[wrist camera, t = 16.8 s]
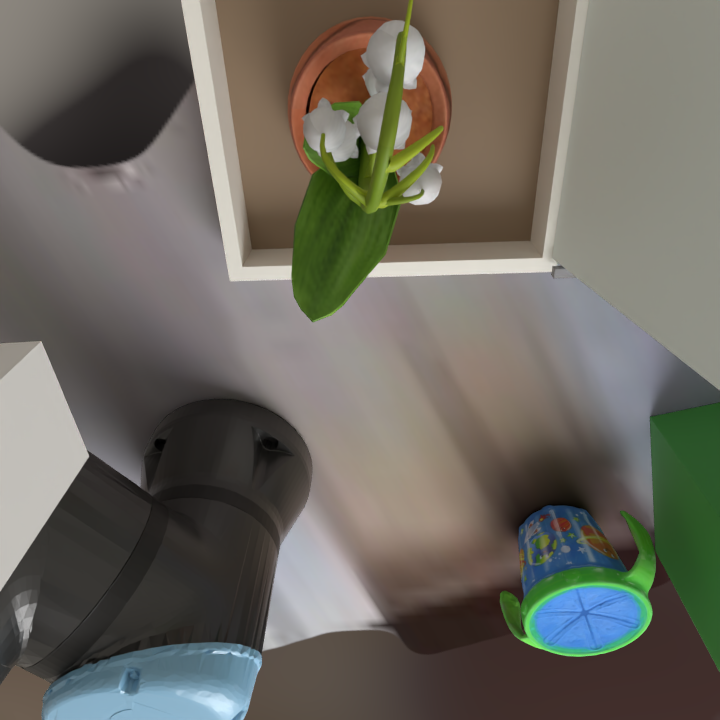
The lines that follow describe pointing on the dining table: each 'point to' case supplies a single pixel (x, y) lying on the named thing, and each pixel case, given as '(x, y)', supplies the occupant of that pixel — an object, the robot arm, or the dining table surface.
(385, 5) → the white open hinged box
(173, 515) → the robot arm
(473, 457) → the dining table surface
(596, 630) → the snack cup
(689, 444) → the hardback book
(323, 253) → the potted flower
